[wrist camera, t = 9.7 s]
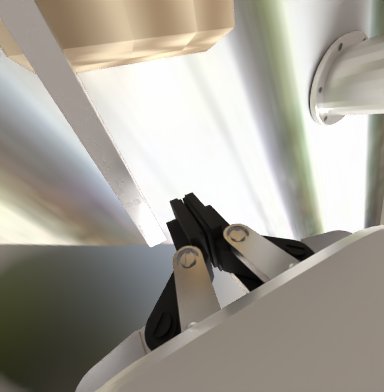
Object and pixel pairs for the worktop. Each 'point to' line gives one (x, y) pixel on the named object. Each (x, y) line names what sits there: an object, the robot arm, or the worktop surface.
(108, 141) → the silver rod
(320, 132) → the worktop surface
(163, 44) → the socket block
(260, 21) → the worktop surface
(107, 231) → the worktop surface
